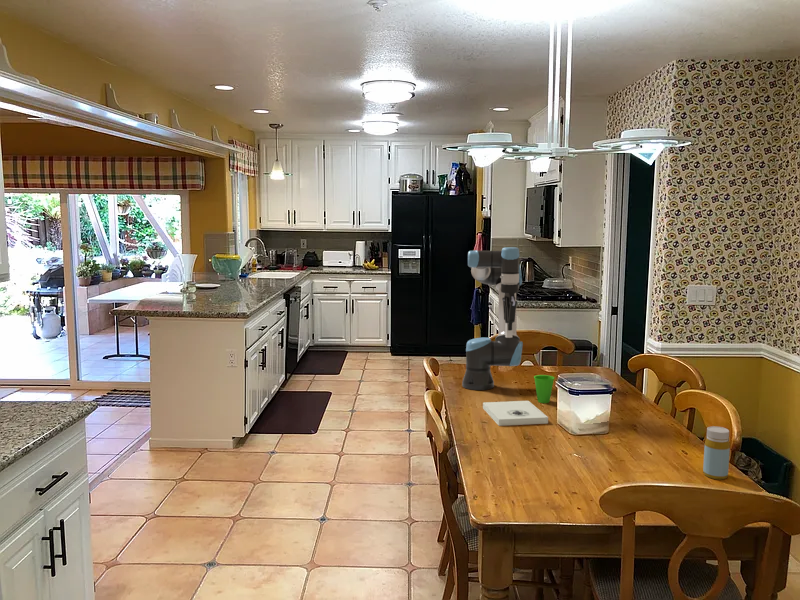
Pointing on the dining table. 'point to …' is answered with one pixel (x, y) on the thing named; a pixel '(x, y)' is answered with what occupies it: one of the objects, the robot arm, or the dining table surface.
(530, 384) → the dining table surface
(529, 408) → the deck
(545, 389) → the cup
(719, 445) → the bottle
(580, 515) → the dining table surface
